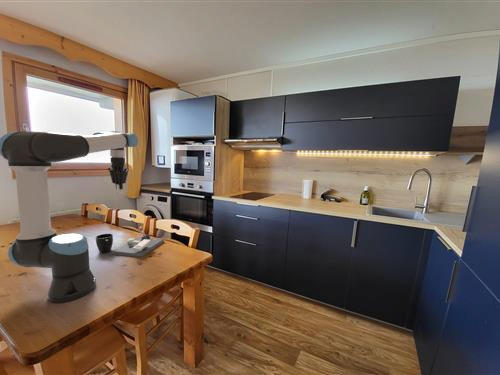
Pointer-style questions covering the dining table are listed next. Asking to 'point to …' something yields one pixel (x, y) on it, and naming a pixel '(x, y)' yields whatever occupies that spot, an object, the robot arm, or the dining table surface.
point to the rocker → (141, 245)
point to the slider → (135, 243)
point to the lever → (142, 231)
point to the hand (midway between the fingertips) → (119, 194)
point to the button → (130, 241)
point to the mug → (104, 242)
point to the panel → (128, 251)
